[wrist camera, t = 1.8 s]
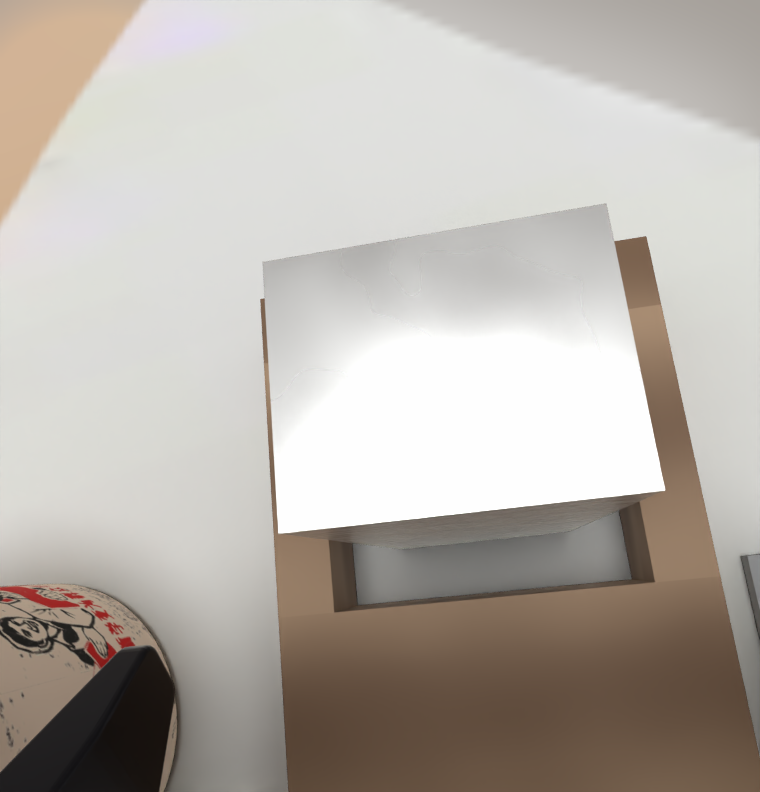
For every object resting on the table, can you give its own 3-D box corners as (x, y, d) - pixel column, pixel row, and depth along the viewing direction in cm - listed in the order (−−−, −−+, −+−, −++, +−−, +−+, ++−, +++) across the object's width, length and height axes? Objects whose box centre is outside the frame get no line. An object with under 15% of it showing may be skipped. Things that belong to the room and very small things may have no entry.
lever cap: (569, 531, 20) (665, 490, 8) (401, 549, 21) (278, 533, 9) (547, 400, 21) (606, 203, 9) (388, 421, 22) (262, 262, 10)
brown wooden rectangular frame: (731, 790, 18) (776, 835, 15) (323, 812, 19) (292, 856, 16) (626, 280, 21) (646, 236, 18) (290, 332, 23) (260, 299, 20)
